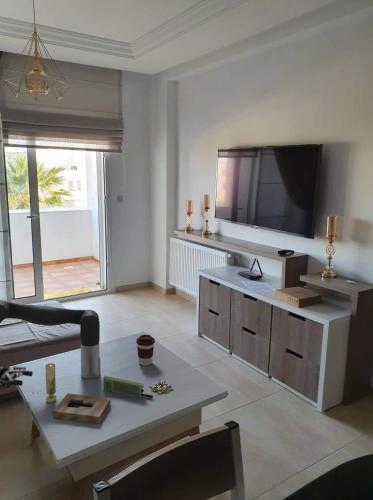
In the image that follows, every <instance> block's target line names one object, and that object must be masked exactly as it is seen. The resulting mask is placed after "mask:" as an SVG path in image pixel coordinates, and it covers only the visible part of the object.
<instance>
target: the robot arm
mask: <svg viewBox="0 0 373 500" xmlns="http://www.w3.org/2000/svg"><path fill="white" fill-rule="evenodd" d="M5 319H8V320H9V319H12V320H22V321H25V322H27V323H30V324H34V325H38V326H44V327H45V326H48V327H52V326H53V327H55V326H60V325H67V324H68V325H69V324H71V325H72V324H73V325H78V326H79V328H80V332H79V333H80V334H79V335H80V338H79V339H80V376H81V378H83V379H86V380H92V379H95V378H98V377H101V370H102V369H101V366H102V365H101V362H102V361H101V356H100V352H101V351H100V341H101V339H100V337H101V335H100V334H101V333H100V329H101V327H100V326H101V325H100V323H101V322H100V316H99V314H98V312H97V311H95V310H92V309H70V308H64V307H55V306H50V305H39V304H36V305H35V304H22V303H15V302H13V301H6V300H2V299H1V300H0V324H1V323H2V322H3V321H4V320H5ZM33 374H34V373H33V371H32V370H27V367H25V366H13V367H12V369H8V368H7V367H6V366H0V388H5V389H6V388H7V389H8V388H10V387H13V386H18V387H19V386H23V385H24V384H23V383H24V382H23V380H21V379H17V378H20V377H22V376H25V377H32V376H33Z"/></svg>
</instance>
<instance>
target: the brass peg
mask: <svg viewBox="0 0 373 500" xmlns="http://www.w3.org/2000/svg"><path fill="white" fill-rule="evenodd" d="M44 367H45V387H46V388H45V389H46V390H45V391H46V395H47V396H46V398H45V401H46V403H47V404H53V403H55V402H57V395H56V392H57V390H56V387H57V386H56V364H55V363H51V362H50V363H47V364H45V366H44Z"/></svg>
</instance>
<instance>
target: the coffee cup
mask: <svg viewBox="0 0 373 500" xmlns="http://www.w3.org/2000/svg"><path fill="white" fill-rule="evenodd" d="M135 341H136V343H135V344H137V346H136V347H137V348H136V349H137V357H138V358H137V359H138V364H139V365H140V364H141V366H150V365H151V364H152V363H153V356H154V350H155V346H154V345H155V342H156V338H155V337H153V336H152V335H150V334H141V335H140V336H139V337H138V338H136V340H135ZM149 364H150V365H149Z"/></svg>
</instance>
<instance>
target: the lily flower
mask: <svg viewBox="0 0 373 500" xmlns="http://www.w3.org/2000/svg"><path fill="white" fill-rule="evenodd" d="M163 380H164V379H162V381H161V379H160V380H158V382H156V383H158V385H159V386H160V385H161V386H160V390H158V389H157V388H158V387H157V386H158V385H157V384H154V385H155V386H156V387H154V388H151V391H152V392H155V391H156V393H157V395H158V396H159V395H161V394H163V393H167V392H168V393H169V391H170V390H169V389H168V387H171V386H167V385H168V384H169V383H166V381H163ZM163 382H164V383H166V384H163ZM161 383H162V384H161ZM164 385H166V386H167V388H166V389H165V390H164V389H163V388H164V387H163V386H164ZM161 388H162V389H161ZM158 391H160V392H161V391H164V392H161V393H160V394H159V392H158ZM168 393H167V394H168Z"/></svg>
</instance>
